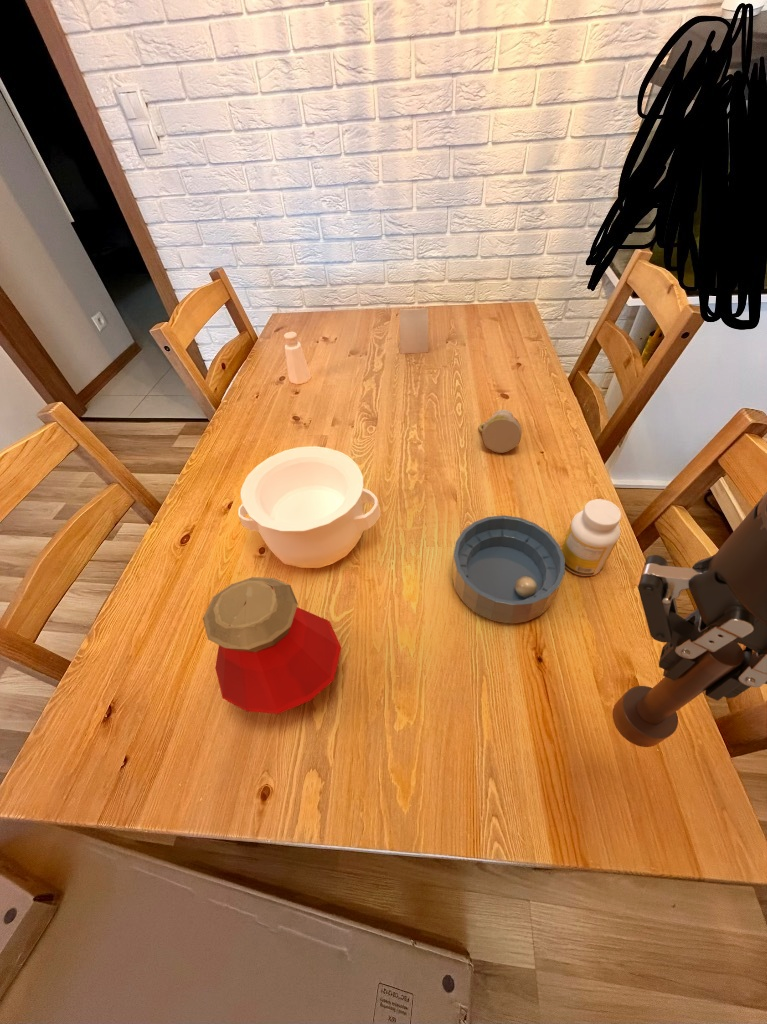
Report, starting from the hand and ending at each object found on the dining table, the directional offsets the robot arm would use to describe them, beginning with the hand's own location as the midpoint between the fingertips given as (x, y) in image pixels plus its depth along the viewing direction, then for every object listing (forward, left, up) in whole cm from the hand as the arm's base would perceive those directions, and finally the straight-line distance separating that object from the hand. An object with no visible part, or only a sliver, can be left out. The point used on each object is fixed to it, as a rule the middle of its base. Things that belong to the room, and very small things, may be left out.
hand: (690, 676), depth 34 cm
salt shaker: (+80, -47, -26) cm, 96 cm away
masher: (0, 0, -11) cm, 11 cm away
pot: (+48, -11, -26) cm, 56 cm away
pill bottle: (+9, -27, -26) cm, 38 cm away
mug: (+31, -48, -26) cm, 63 cm away
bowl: (+18, -18, -26) cm, 36 cm away
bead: (+14, -17, -23) cm, 32 cm away
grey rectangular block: (+62, -70, -26) cm, 97 cm away
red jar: (+37, +10, -26) cm, 46 cm away
